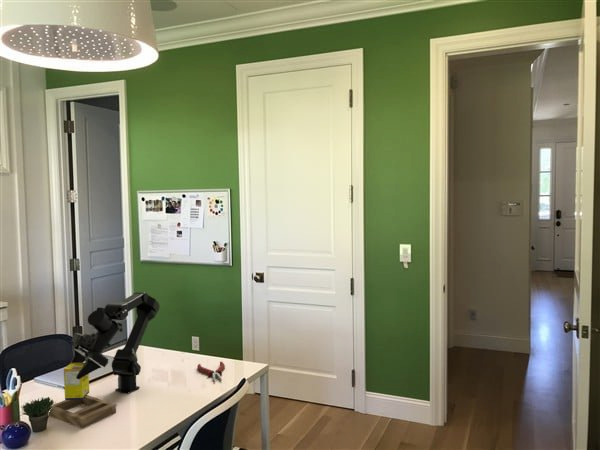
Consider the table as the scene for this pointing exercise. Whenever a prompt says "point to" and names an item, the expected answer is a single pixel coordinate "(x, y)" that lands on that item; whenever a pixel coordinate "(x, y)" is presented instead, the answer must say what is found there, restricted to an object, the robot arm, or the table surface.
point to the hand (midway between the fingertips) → (72, 375)
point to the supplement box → (75, 382)
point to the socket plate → (83, 411)
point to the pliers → (211, 373)
